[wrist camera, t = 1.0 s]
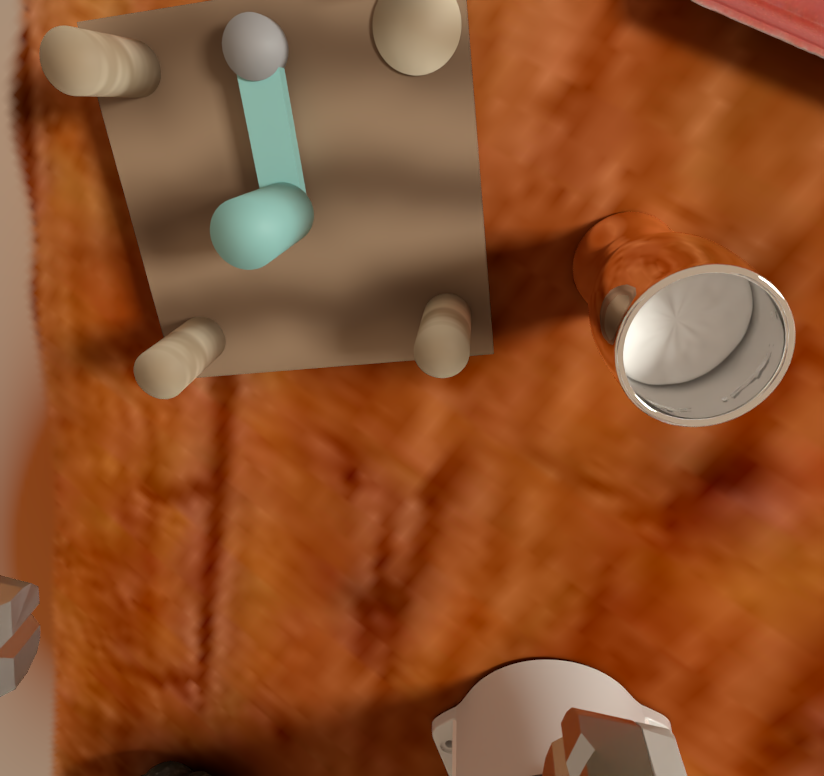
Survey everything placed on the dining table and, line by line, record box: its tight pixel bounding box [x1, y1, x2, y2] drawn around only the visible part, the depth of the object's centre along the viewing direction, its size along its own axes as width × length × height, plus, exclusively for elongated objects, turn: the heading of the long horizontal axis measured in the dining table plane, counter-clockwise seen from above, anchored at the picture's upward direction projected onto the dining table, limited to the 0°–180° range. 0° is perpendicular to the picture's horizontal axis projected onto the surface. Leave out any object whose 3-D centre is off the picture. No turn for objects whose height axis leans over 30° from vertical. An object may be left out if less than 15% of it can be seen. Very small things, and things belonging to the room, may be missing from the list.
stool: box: [40, 0, 494, 399], centre depth 35 cm, size 20×20×8 cm
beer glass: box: [573, 212, 795, 427], centre depth 32 cm, size 7×7×15 cm
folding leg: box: [210, 12, 314, 270], centre depth 31 cm, size 11×3×8 cm, turn 7°
